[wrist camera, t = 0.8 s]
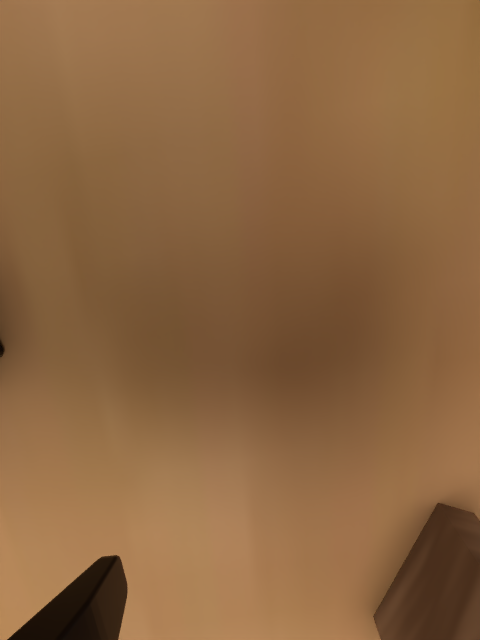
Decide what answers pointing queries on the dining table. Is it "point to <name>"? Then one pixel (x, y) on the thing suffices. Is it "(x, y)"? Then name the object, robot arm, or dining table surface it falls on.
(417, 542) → the walnut tile
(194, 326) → the dining table surface
